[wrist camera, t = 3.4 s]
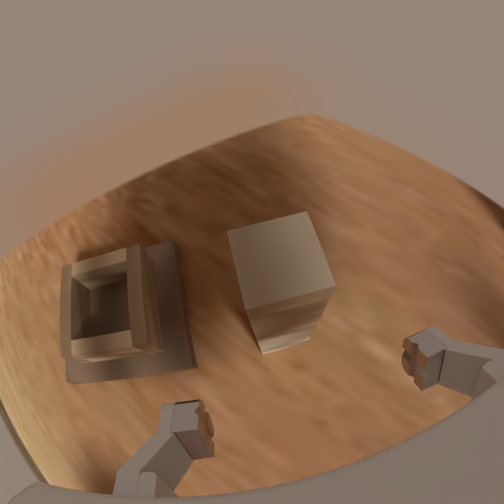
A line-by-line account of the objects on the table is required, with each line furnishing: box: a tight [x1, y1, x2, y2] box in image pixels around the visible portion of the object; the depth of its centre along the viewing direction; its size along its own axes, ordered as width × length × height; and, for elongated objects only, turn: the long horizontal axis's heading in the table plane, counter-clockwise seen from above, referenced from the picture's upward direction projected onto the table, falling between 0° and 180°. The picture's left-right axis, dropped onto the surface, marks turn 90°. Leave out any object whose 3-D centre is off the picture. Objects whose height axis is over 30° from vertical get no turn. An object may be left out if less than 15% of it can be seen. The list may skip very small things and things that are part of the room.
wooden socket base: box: [60, 240, 197, 384], centre depth 21 cm, size 12×11×4 cm
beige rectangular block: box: [227, 211, 336, 354], centre depth 17 cm, size 4×4×12 cm
